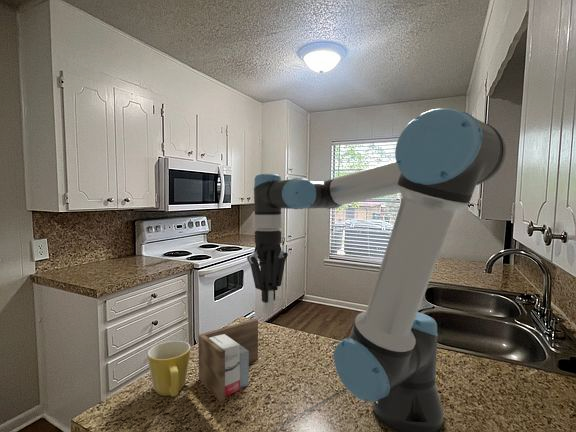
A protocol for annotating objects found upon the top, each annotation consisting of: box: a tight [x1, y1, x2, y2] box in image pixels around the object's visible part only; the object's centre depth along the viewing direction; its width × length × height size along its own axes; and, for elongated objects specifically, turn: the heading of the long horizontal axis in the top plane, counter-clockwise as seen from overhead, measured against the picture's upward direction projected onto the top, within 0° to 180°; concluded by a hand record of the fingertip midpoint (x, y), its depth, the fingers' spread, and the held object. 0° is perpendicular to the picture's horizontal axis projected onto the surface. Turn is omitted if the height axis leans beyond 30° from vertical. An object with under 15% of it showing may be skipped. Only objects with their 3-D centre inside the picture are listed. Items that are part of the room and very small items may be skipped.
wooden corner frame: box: [198, 318, 259, 403], centre depth 84 cm, size 12×18×13 cm, turn 130°
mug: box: [147, 340, 192, 397], centre depth 79 cm, size 14×10×10 cm
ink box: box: [209, 334, 241, 397], centre depth 80 cm, size 8×5×12 cm, turn 40°
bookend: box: [240, 345, 250, 390], centre depth 83 cm, size 8×2×9 cm, turn 40°
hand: (268, 312), depth 90 cm, fingers closed
